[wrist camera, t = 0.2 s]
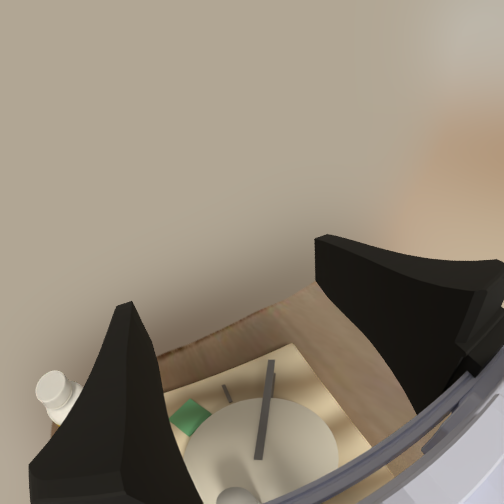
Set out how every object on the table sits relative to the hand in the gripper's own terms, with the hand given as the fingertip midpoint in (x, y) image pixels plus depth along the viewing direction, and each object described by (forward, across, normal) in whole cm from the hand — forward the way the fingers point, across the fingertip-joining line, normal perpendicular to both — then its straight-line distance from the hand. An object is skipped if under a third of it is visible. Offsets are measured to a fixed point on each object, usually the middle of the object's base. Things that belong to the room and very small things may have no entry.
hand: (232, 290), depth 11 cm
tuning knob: (+2, 0, +19) cm, 19 cm away
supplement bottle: (+10, +17, +22) cm, 30 cm away
